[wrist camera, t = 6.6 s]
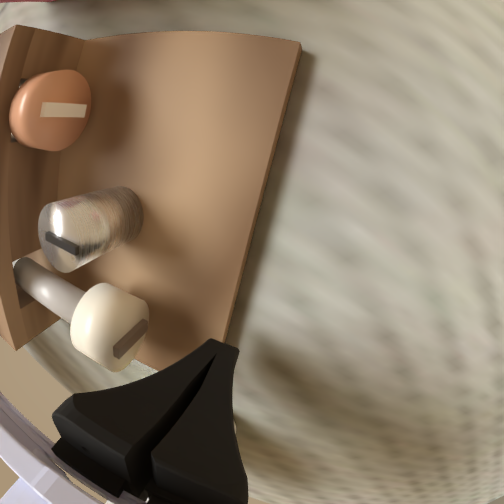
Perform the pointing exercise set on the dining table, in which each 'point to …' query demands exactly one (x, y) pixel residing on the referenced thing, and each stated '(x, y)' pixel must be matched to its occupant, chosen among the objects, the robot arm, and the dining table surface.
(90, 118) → the mount
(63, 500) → the robot arm
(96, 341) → the knob ivory
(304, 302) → the dining table surface
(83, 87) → the knob terracotta
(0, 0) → the plant pot
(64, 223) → the pot dial
